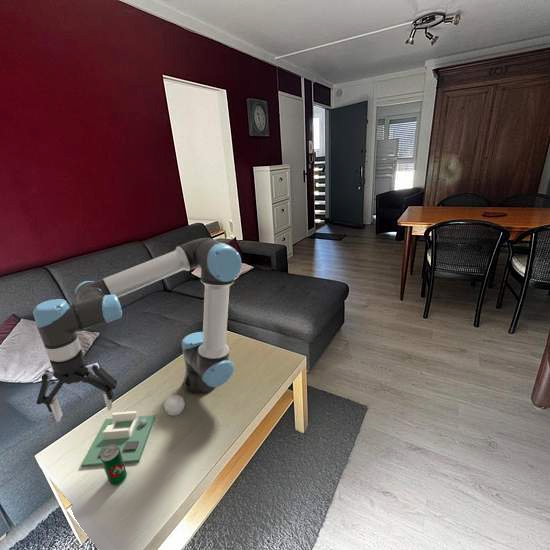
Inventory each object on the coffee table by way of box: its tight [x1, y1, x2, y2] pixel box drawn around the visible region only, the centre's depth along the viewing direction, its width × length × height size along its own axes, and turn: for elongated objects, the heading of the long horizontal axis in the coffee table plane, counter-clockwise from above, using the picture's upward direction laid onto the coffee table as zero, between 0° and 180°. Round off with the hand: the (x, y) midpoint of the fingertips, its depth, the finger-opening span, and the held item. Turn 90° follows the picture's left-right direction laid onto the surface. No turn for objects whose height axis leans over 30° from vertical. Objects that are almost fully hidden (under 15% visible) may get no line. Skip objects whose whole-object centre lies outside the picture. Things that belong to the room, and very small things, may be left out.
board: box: [80, 410, 156, 468], centre depth 105 cm, size 18×18×5 cm
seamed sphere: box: [156, 394, 185, 416], centre depth 115 cm, size 10×7×7 cm
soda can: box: [101, 444, 128, 486], centre depth 91 cm, size 5×5×12 cm
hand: (85, 412), depth 91 cm, fingers open, 13 cm apart
